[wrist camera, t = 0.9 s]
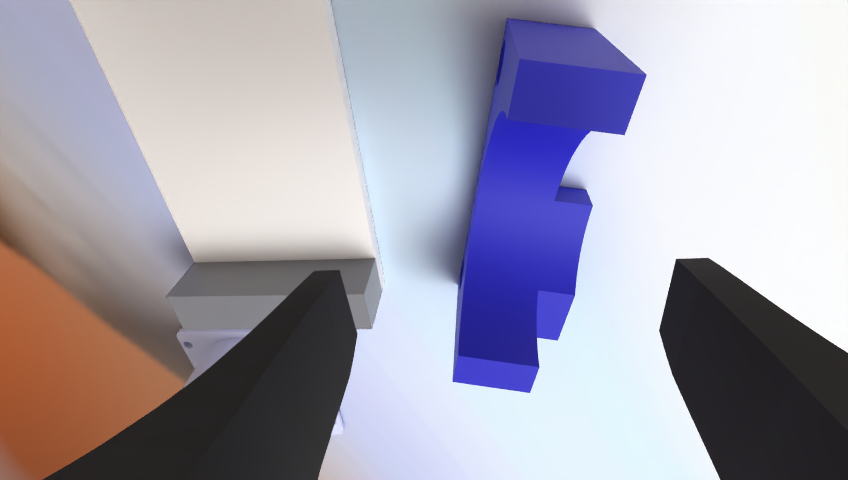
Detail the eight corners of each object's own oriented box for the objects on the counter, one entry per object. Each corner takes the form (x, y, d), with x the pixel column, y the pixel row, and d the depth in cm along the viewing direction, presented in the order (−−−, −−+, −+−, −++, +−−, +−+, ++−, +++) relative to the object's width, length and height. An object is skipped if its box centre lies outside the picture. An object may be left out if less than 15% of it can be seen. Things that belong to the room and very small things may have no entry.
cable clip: (548, 295, 22) (568, 398, 18) (458, 282, 23) (452, 381, 18) (637, 33, 16) (710, 82, 11) (506, 17, 16) (519, 58, 11)
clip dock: (384, 280, 23) (371, 329, 20) (216, 283, 24) (183, 329, 21) (287, -222, 13) (235, -262, 10) (7, -172, 14) (-106, -195, 11)
